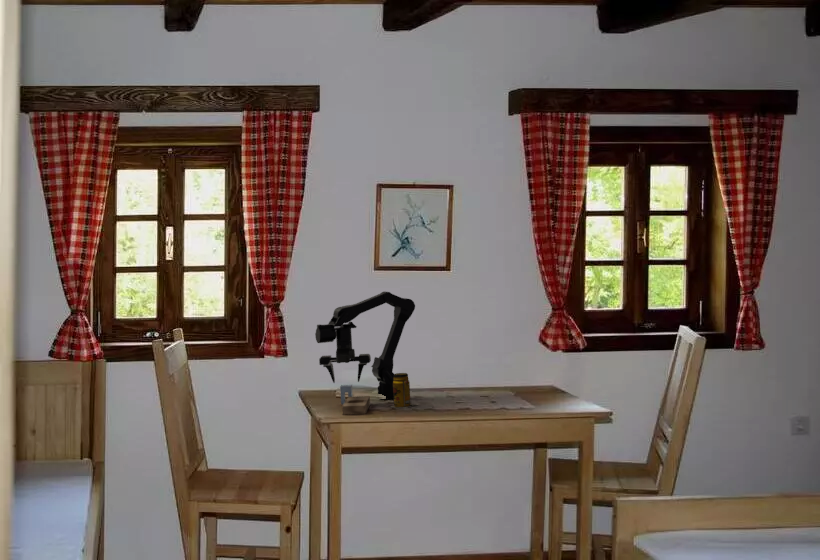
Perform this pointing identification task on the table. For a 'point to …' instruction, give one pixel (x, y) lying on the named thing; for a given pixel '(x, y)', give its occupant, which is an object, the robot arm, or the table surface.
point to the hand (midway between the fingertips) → (346, 382)
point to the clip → (345, 389)
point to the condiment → (401, 391)
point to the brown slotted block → (356, 405)
